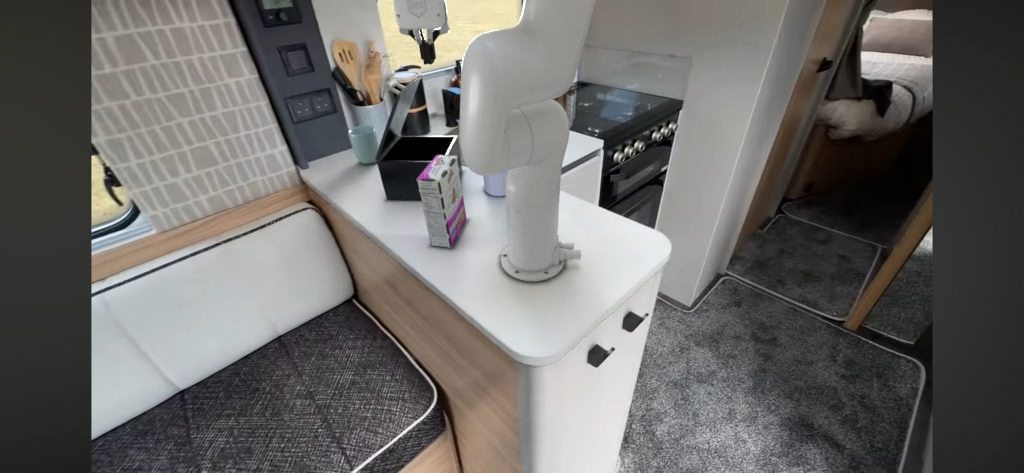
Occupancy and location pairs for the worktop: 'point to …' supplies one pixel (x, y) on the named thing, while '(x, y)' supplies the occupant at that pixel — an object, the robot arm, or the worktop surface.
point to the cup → (364, 143)
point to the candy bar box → (442, 200)
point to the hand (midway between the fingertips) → (429, 63)
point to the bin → (412, 163)
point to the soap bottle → (496, 184)
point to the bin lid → (397, 112)
